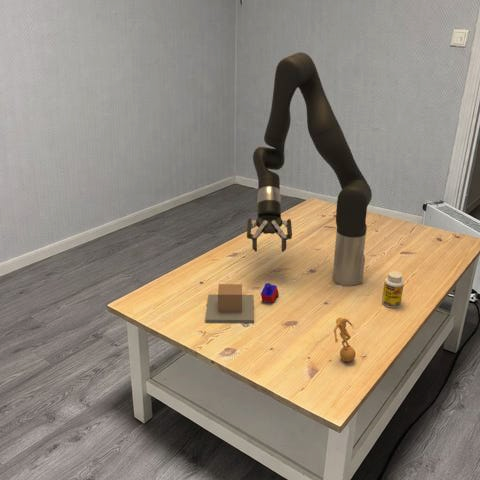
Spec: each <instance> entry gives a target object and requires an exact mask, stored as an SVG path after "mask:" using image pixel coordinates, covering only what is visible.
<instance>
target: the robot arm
mask: <svg viewBox="0 0 480 480" xmlns="http://www.w3.org/2000/svg"><path fill="white" fill-rule="evenodd" d="M297 89H299V91H300V93H301V95H302V98H303V100H304V103H305V107H306V122H307V130H308V134H309V136H310V139H311V141H312V142H313V144H314V147H315V149H316V151H317V153H318V154H319V155H320V156H321V157H322V159H323V160H324V161H325V162H326V163H327V164H328V165H329V166H330V168H331V169H332V170H333V172H334V174H335V176H336V178H337V181H338V182H339V186H340V188H341V191H340V192H339V194H338V196H337V200H336V212H335V225H336V234H335V243H334V244H335V247H334V255H333V256H334V257H333V268H332V280H333V282H334V283H336V284H338V285H341V286H347V287H348V286H351V287H352V286H356V285H358V284H363V279H364V278H363V277H364V271H365V262H366V261H365V260H366V256H365V255H364V254H365V246H366V238H367V237H366V236H367V229H368V228H367V227H368V226H367V224H366V220H367V210H368V206H369V205H370V203H371V201H372V195H373V194H372V189H371V186H370V185H369V182H368V181H367V180H366V178H365V177H364V174H363V173H362V171H361V170H360V167H358V165H357V163H356V160H355V157H354V155H353V153H352V150H351V148H350V145H349V143H348V142H347V139H346V136H345V134H344V132H343V130H342V127H341V125H340V123H339V120H338V118H337V117H336V115H335V112H334V111H333V109H332V106H331V104H330V102H329V99H328V97H327V95H326V92H325V90H324V88H323V84H322V81H321V79H320V76H319V72H318V69H317V67H316V63H315V62H314V60H313V59H312V57H311V56H310V55H309V54H308V53H305V52H302V51H301V52H297V53H293V54H292V55H289V56H287V57H284V58H282V59H281V60H280V61H279V62H278V64H277V66H276V68H275V74H274V82H273V91H272V92H273V93H272V99H271V108H270V113H269V118H268V122H267V124H266V129H265V132H264V137H263V141H264V143H265V144H266V145H267V146H268V147H266V146H258V147H257V148H255V150H254V151H253V154H252V161H253V166H254V169H255V172H256V176H257V181H258V182H257V183H258V186H257V187H258V190H257V191H258V192H257V201H256V204H257V218H256V219H254V220H253V219H252V218H248V219H247V229H246V230H247V231H246V239H247V240H248V239H249V240H251V241H252V244H251V245H252V247H251V248H252V250H253V251H254V252H258V251H257V250H258V238H259V237H260V236H261V234H262V233H263V234H264V235H268V234H271V235H275V234H276V235H277V236H278V237H279V238H280V239H281V253H284V252H285V251H286V250H287V240H291V239H292V236H293V229H292V228H293V227H292V220H291V218H288V219H286V220H283V219H282V207H281V206H282V197H281V190H280V189H281V186H280V185H281V183H280V175H279V174H278V173H276V172H274V171H277V170H278V171H279V170H281V169H282V168H283V166H284V164H285V158H286V157H285V146H286V141H287V137H288V134H289V130H290V126H291V121H292V119H291V109H290V108H291V103H292V99H293V97H294V95H295V92H296V90H297ZM271 170H273V171H271ZM255 225H256V226H257V229H256V231H255V232H254V233H253V234H252V228H254V227H255ZM282 226H284V227H285V228H286V231H287V232H286V233H285V232H284V231H283V229H282V228H281V227H282Z"/></svg>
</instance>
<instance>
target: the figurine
mask: <svg viewBox="0 0 480 480" xmlns="http://www.w3.org/2000/svg"><path fill="white" fill-rule="evenodd" d="M335 323H336V325H335V327H334V329H333V333H334V341H335V343H339V342H338V341H339V339H338V338H337V329H339V331H340V332H339V336H340V337H341V339H342V341H341V344H342V348H341V349H340V350H339V356H340V358H341V360H342V361H343V362H346V363H349V362H352V361H354V360H355V358H356V356H357V355H356V350H355V349H354V347H352V346H351V345H350V344H349V343H348V341H349V340H351V338H352V337H351V335H350V334H349V331H348V329H347V328H346V327H347V323H348V324H349V325H350V326H351V327H352V329H353V330H355V328H354V325H353V324H352V322H351V321H350V320H349V319H347V318H345V317H344V318H343V317H338V318H337V319H336V321H335ZM345 344H346V345H345Z"/></svg>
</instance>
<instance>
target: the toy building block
mask: <svg viewBox="0 0 480 480" xmlns="http://www.w3.org/2000/svg"><path fill="white" fill-rule="evenodd" d="M279 295H280V293H279V290H278V287H277V285H275V284H271V283H270V282H267V283H264V286H263V288H262V289H261V292H260V296H261V299H262V301H263V302H267V303H272V304H274V303H275V300H276V298H278V297H280V296H279Z"/></svg>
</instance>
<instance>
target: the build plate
mask: <svg viewBox="0 0 480 480" xmlns="http://www.w3.org/2000/svg"><path fill="white" fill-rule="evenodd" d="M254 301H255V299H254V294H243V284H242V283H238V284H237V283H235V284H234V283H233V284H232V283H225V284H224V283H219V284H218V288H217V294H208V295H207V305H206V312H205V320H204V321H205V322H204V323H207V324H208V323H209V324H211V323H213V324H217V323H219V324H220V323H221V324H226V323H229V324H233V323H234V324H254V323H255V309H254V308H255V303H254Z"/></svg>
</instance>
